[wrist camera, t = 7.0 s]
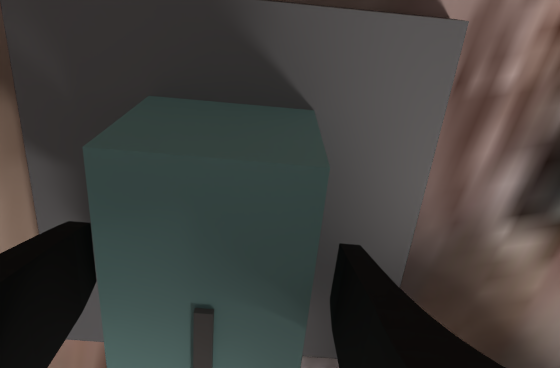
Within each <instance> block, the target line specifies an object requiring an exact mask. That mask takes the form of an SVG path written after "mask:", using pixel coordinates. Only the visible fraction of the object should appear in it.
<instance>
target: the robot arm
mask: <svg viewBox="0 0 560 368" xmlns="http://www.w3.org/2000/svg"><path fill="white" fill-rule="evenodd" d="M96 282H97V279H96V270H95V261H94V251H93V242H92V232H91V223H87V222H75V221H68V222H65V223H63V224H60V225H58V226H56V227H54V228H51V229H49V230H47V231H45V232H43V233H41V234H39V235H37V236H35V237H33V238H31V239H29V240H27V241H25V242H23V243H21V244H19V245H17V246H15V247H13V248H11V249H8V250H6V251H4V252H2V253H0V368H47V367H48V366H49V364H50V363H51V361H52V360H53V358H54V357H55V355H56V353H57V352H58V350H59V349H60V347H61V346H62V344H63V343H64V341H65V339H66V338H67V336H68V335H69V333H70V332H71V330H72V328H73V327H74V325H75V324H76V322H77V320H78V319H79V317H80V316H81V314H82V312H83V310H84V308H85V306H86V304H87V302H88V300H89V298H90V295H91V293H92V291H93V289H94V286H95V284H96ZM330 313H331V326H332V334H333V339H334V344H335V349H336V354H337V359H338V364H339V368H505V367H503V366H501V365H500V364H498V363H496V362H495V361H493V360H492V359H490V358H488V357H487V356H485V355H483V354H482V353H480V352H479V351H477V350H476V349H474V348H473V347H471V346H470V345H468V344H467V343H465V342H464V341H462V340H461V339H460V338H458V337H457V336H455V335H454V334H453V333H451V332H450V331H449V330H447V329H446V328H445V327H443V326H442V325H441V324H440V323H438V322H437V321H436V320H435V319H433V318H432V317H431V316H430V315H428V314H427V313H426V312H425V311H424V310H423V309H421V308H420V307H419V306H418V305H417V304H416V303H415V302H414V301H413V300H412V299H411V298H410V297H408V296H407V295H406V294H405V293H404V292H403V291H402V290H401V289H400V288H399V287H398V286H397V285H396V284H395V283H394V282H393V281H392V280H391V278H390V277H389V276H388V275H387V274H386V273H385V272H384V271H383V270H382V269H381V268H380V267H379V265H378V264H377V263H376V262H375V261H374V260H373V259H372V258H371V256H370V255H369V254H368V253H367V252H366V251H365V250H364V249H363V247H362V246H361V245H354V244H342V243H339V249H338V254H337V260H336V266H335V271H334V277H333V283H332V288H331V294H330Z"/></svg>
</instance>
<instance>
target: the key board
mask: <svg viewBox="0 0 560 368" xmlns="http://www.w3.org/2000/svg"><path fill="white" fill-rule="evenodd" d="M0 2H1V8H2V14H3V20H4V26H5V32H6V38H7V44H8V50H9V56H10V62H11V68H12V74H13V80H14V86H15V92H16V98H17V104H18V110H19V116H20V122H21V128H22V134H23V140H24V146H25V152H26V158H27V164H28V170H29V176H30V182H31V188H32V194H33V200H34V206H35V212H36V218H37V224H38V230H39V234H41V233H43V232H45V231H47V230H49V229H51V228H54V227H56V226H58V225H60V224H63V223H65V222H68V221H75V222H87V223H91V220H90V211H89V202H88V192H87V183H86V174H85V165H84V156H83V146H84V145H86V144H87V143H88V142H90V141H91V140H92V139H93V138H95V137H96V136H97V135H99V134H100V133H101V132H102V131H104V130H105V129H106V128H108V127H109V126H110V125H112V124H113V123H114V122H115V121H117V120H118V119H119V118H121V117H122V116H123V115H125V114H126V113H127V112H128V111H130V110H131V109H132V108H134V107H135V106H136V105H137V104H139V103H140V102H141V101H143V100H144V99H145V98H147V97H148V96H157V97H169V98H180V99H191V100H203V101H214V102H225V103H237V104H248V105H259V106H271V107H282V108H293V109H305V110H314V112H315V115H316V119H317V122H318V126H319V130H320V133H321V137H322V140H323V144H324V148H325V151H326V155H327V158H328V162H329V165H330V172H329V179H328V185H327V192H326V199H325V206H324V212H323V219H322V226H321V232H320V239H319V246H318V253H317V259H316V266H315V273H314V280H313V286H312V293H311V300H310V306H309V313H308V320H307V327H306V333H305V340H304V347H303V353H302V356H307V357H321V358H335V359H337V354H336V349H335V344H334V339H333V334H332V326H331V313H330V294H331V288H332V283H333V277H334V271H335V266H336V260H337V254H338V249H339V243H342V244H354V245H361V246H362V247H363V249H364V250H365V251H366V252H367V253H368V254H369V255H370V256H371V258H372V259H373V260H374V261H375V262H376V263H377V264H378V265H379V267H380V268H381V269H382V270H383V271H384V272H385V273H386V274H387V275H388V276H389V277H390V278H391V280H392V281H393V282H394V283H395V284H396V285H397V286H398V287H399V288H400V285H401V281H402V277H403V273H404V270H405V266H406V262H407V258H408V254H409V250H410V246H411V243H412V239H413V235H414V231H415V227H416V223H417V219H418V216H419V212H420V208H421V204H422V200H423V196H424V192H425V189H426V185H427V181H428V177H429V173H430V169H431V165H432V162H433V158H434V154H435V150H436V146H437V142H438V138H439V135H440V131H441V127H442V123H443V119H444V115H445V111H446V108H447V104H448V100H449V96H450V92H451V88H452V84H453V81H454V77H455V73H456V69H457V65H458V61H459V57H460V53H461V50H462V46H463V42H464V38H465V34H466V30H467V26H468V23H469V21H463V20H457V19H450V18H440V17H430V16H420V15H410V14H400V13H390V12H380V11H370V10H360V9H350V8H340V7H330V6H320V5H310V4H300V3H290V2H280V1H271V0H0ZM91 232H92V229H91ZM92 242H93V238H92ZM93 251H94V247H93ZM94 261H95V256H94ZM95 270H96V265H95ZM96 279H97V274H96ZM66 339H68V340H82V341H96V342H104V337H103V328H102V319H101V310H100V301H99V292H98V283H97V282H96V284H95V286H94V289H93V291H92V293H91V295H90V298H89V300H88V302H87V304H86V306H85V308H84V310H83V312H82V314H81V316H80V317H79V319H78V320H77V322H76V324H75V325H74V327H73V328H72V330H71V332H70V333H69V335H68V336H67V338H66Z"/></svg>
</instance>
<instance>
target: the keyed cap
mask: <svg viewBox="0 0 560 368" xmlns="http://www.w3.org/2000/svg"><path fill="white" fill-rule="evenodd" d="M83 156H84V165H85V174H86V183H87V192H88V202H89V211H90V220H91V229H92V238H93V247H94V256H95V265H96V274H97V283H98V292H99V301H100V310H101V319H102V328H103V337H104V346H105V355H106V364H107V368H300V367H301V360H302V353H303V347H304V340H305V333H306V327H307V320H308V313H309V306H310V300H311V293H312V286H313V280H314V273H315V266H316V259H317V253H318V246H319V239H320V232H321V226H322V219H323V212H324V206H325V199H326V192H327V185H328V179H329V172H330V165H329V162H328V158H327V155H326V151H325V148H324V144H323V140H322V137H321V133H320V130H319V126H318V122H317V119H316V115H315V112H314V110H305V109H293V108H282V107H271V106H259V105H248V104H237V103H225V102H214V101H203V100H191V99H180V98H169V97H157V96H148V97H147V98H145V99H144V100H143V101H141V102H140V103H139V104H137V105H136V106H135V107H134V108H132V109H131V110H130V111H128V112H127V113H126V114H125V115H123V116H122V117H121V118H119V119H118V120H117V121H115V122H114V123H113V124H112V125H110V126H109V127H108V128H106V129H105V130H104V131H102V132H101V133H100V134H99V135H97V136H96V137H95V138H93V139H92V140H91V141H90V142H88V143H87V144H86V145H84V146H83Z"/></svg>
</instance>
